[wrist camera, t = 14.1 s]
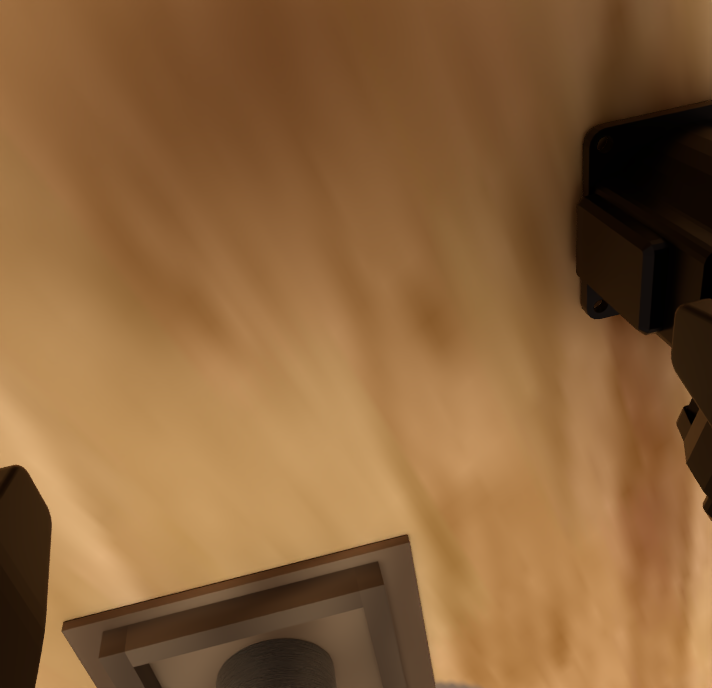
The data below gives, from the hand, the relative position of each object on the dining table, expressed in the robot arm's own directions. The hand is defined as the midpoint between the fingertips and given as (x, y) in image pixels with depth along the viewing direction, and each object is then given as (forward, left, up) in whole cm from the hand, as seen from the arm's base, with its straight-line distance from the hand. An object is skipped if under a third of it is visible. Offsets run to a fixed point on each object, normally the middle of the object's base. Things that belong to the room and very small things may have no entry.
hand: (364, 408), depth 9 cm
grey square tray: (+5, +22, -12) cm, 26 cm away
